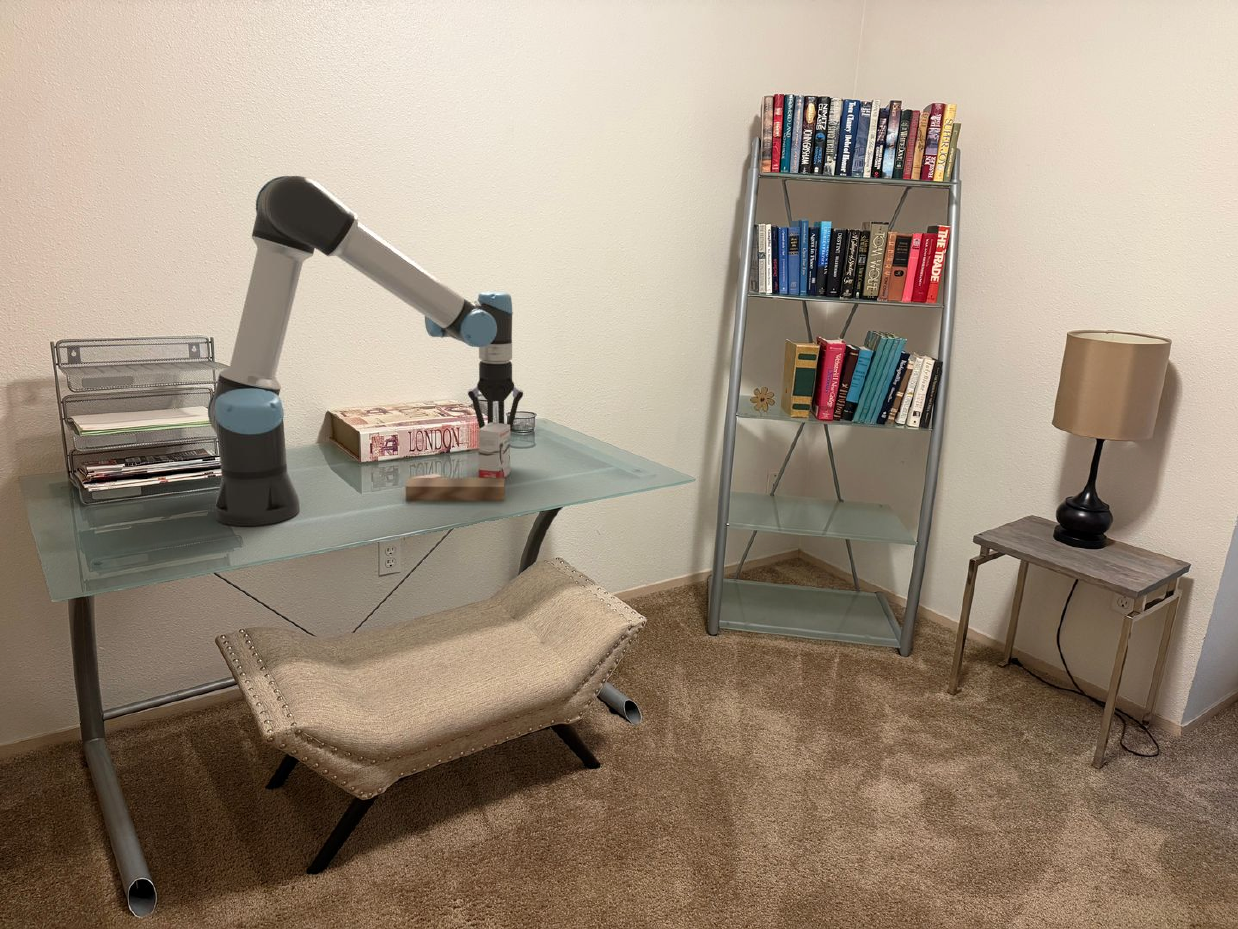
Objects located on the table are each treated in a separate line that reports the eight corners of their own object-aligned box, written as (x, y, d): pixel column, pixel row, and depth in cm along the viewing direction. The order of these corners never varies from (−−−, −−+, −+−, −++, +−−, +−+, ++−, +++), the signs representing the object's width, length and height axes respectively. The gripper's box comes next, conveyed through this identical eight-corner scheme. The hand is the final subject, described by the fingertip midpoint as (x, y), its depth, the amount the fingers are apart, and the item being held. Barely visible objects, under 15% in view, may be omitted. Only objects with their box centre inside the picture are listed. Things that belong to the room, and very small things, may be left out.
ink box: (498, 483, 191) (498, 432, 188) (477, 481, 192) (477, 430, 189) (511, 472, 199) (511, 423, 196) (491, 470, 200) (490, 421, 197)
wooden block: (405, 500, 178) (405, 486, 177) (409, 491, 184) (409, 477, 183) (503, 500, 180) (503, 486, 179) (504, 491, 186) (504, 478, 185)
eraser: (416, 489, 186) (416, 480, 186) (411, 486, 188) (411, 477, 188) (442, 485, 190) (441, 476, 189) (436, 482, 192) (436, 473, 191)
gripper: (465, 363, 194) (467, 464, 200) (524, 364, 195) (523, 464, 202) (467, 357, 201) (469, 455, 207) (524, 358, 202) (523, 455, 209)
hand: (496, 459), depth 204 cm, fingers closed
